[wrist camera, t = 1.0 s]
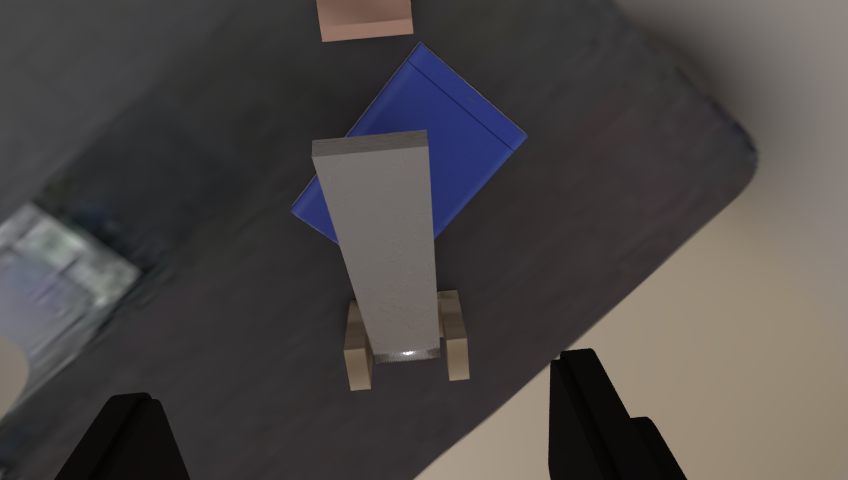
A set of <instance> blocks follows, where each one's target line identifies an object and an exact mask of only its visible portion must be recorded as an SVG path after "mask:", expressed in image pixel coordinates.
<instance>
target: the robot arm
mask: <svg viewBox="0 0 848 480" xmlns="http://www.w3.org/2000/svg"><path fill="white" fill-rule="evenodd" d="M549 408H550V409H549V452H548V453H549V454H548V466H549V474H550V478H551V480H687V478H686V477H685V475H684V474H683V472H682V470H681V468H680V467H679V465H678V463H677V461H676V460H675V458H674V456H673V454H672V453H671V451H670V449H669V448H668V446H667V444H666V443H665V441H664V439H663V438H662V436H661V434H660V432H659V431H658V429H657V427H656V426H655V424H654V423H653V422H652V420H651V419H649V418H648V417H636V418H630V416H629V414H628V413H627V411H626V409H625V407H624V405H623V403H622V401H621V400H620V398H619V396H618V394H617V392H616V391H615V388H614V386H613V385H612V383H611V381H610V379H609V377H608V375H607V373H606V372H605V370H604V368H603V366H602V364H601V362H600V360H599V359H598V357H597V355H596V353H595V352H594V350H593V349H591V348H588V349H579V350H568V351H562V352H561V354H560V359H557V360H552V361H551V365H550V407H549ZM54 480H190V478H189V475H188V473H187V470H186V467H185V465H184V462H183V460H182V457H181V454H180V452H179V449H178V446H177V444H176V441H175V439H174V436H173V433H172V431H171V428H170V425H169V423H168V420H167V418H166V415H165V412H164V410H163V407H162V405H161V403H160V401H159V400H157V399H152V398H151V396H150V395H149V394H148V393H144V392H143V393H133V394H122V395H114V396H112V397H111V398H110V399H109V400H108V401H107V402H106V404H105V405H104V407H103V408H102V410H101V411H100V413H99V414H98V416H97V417H96V418H95V420H94V421H93V423H92V424H91V426H90V427H89V429H88V430H87V432H86V433H85V435H84V436H83V438H82V439H81V441H80V442H79V444H78V445H77V447H76V448H75V450H74V451H73V452H72V454H71V455H70V457H69V458H68V460H67V461H66V463H65V464H64V466H63V467H62V469H61V470H60V472H59V473H58V475H57V476H56V478H55V479H54Z"/></svg>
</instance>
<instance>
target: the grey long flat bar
mask: <svg viewBox="0 0 848 480" xmlns="http://www.w3.org/2000/svg"><path fill="white" fill-rule="evenodd" d="M312 159H313V163H314V166H315V169H316V172H317V175H318V178H319V182H320V185H321V188H322V191H323V194H324V197H325V201H326V204H327V207H328V210H329V213H330V217H331V220H332V223H333V226H334V229H335V232H336V236H337V239H338V242H339V245H340V248H341V252H342V255H343V258H344V261H345V264H346V267H347V271H348V274H349V277H350V280H351V283H352V287H353V290H354V293H355V296H356V299H357V302H358V306H359V309H360V312H361V315H362V318H363V322H364V325H365V328H366V331H367V334H368V337H369V341H370V344H371V347H372V350H373V353H374V359H375V364H384V363H394V362H404V361H414V360H424V359H434V358H441V356H440V342H439V324H438V307H437V289H436V271H435V254H434V236H433V219H432V201H431V183H430V166H429V148H428V139H427V131H426V130H417V131H407V132H396V133H386V134H375V135H365V136H354V137H344V138H333V139H323V140H313V142H312Z"/></svg>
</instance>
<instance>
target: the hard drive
mask: <svg viewBox="0 0 848 480" xmlns="http://www.w3.org/2000/svg"><path fill="white" fill-rule="evenodd" d="M417 130H426V131H427V139H428V148H429V166H430V183H431V201H432V219H433V236H434V239H435V238H436V237H437V236H438V235H439V234H440V233H441V232H442V231H443V229H444V228H445V227H446V226H447V225H448V224H449V223H450V222H451V221H452V220H453V218H454V217H455V216H456V215H457V214H458V213H459V212H460V211H461V210H462V209H463V208H464V206H465V205H466V204H467V203H468V202H469V201H470V200H471V199H472V198H473V197H474V195H475V194H476V193H477V192H478V191H479V190H480V189H481V188H482V187H483V186H484V184H485V183H486V182H487V181H488V180H489V179H490V178H491V177H492V176H493V174H494V173H495V172H496V171H497V170H498V169H499V168H500V167H501V166H502V165H503V163H504V162H505V161H506V160H507V159H508V158H509V157H510V156H511V155H512V154H513V152H514V151H515V150H516V149H517V148H518V147H519V146H520V145H521V144H522V143H523V142H524V140H525V139H526V138H527V137H528V136H527V134H526V133H525V132H524V131H523V130H521V129H520V128H519V127H518V126H517V125H516V124H514V123H513V122H512V121H511V120H510V119H509V118H507V117H506V116H505V115H504V114H503V113H502V112H501V111H499V110H498V109H497V108H496V107H495V106H494V105H493V104H491V103H490V102H489V101H488V100H487V99H486V98H484V97H483V96H482V95H481V94H480V93H479V92H478V91H477V90H475V89H474V88H473V87H472V86H471V85H470V84H468V83H467V82H466V81H465V80H464V79H463V78H462V77H460V76H459V75H458V74H457V73H456V72H455V71H454V70H452V69H451V68H450V67H449V66H448V65H447V64H446V63H444V62H443V61H442V60H441V59H440V58H439V57H438V56H436V55H435V54H434V53H433V52H432V51H431V50H430V49H428V48H427V47H426V46H425V45H424V44H423V43H422V42H419V43H418V44H417V45H416V46H415V48H414V49H413V50H412V52H411V53H410V54H409V55H408V57H407V58H406V59H405V61H404V62H403V63H402V64H401V65H400V67H399V68H398V69H397V71H396V72H395V73H394V74H393V76H392V77H391V78H390V80H389V81H388V82H387V83H386V85H385V86H384V87H383V89H382V90H381V91H380V92H379V94H378V95H377V96H376V98H375V99H374V100H373V101H372V103H371V104H370V105H369V107H368V108H367V109H366V110H365V112H364V113H363V114H362V116H361V117H360V118H359V119H358V121H357V122H356V123H355V125H354V126H353V127H352V128H351V130H350V131H349V132H348V134H347V135H346V136H345V137H354V136H365V135H375V134H386V133H396V132H407V131H417ZM290 211H291V212H292V213H293V214H294V215H296V216H297V217H298V218H300V219H301V220H303V221H304V222H306V223H308V224H309V225H310V226H312V227H313V228H315V229H316V230H318V231H319V232H321V233H322V234H324V235H325V236H327V237H328V238H330V239H331V240H333V241H334V242H335V243H337V244H338V245H339V242H338V239H337V236H336V232H335V229H334V226H333V223H332V220H331V217H330V213H329V210H328V207H327V204H326V201H325V197H324V194H323V191H322V188H321V185H320V182H319V178H318V175H317V174H316V175H315V176H314V178H313V179H312V180H311V181H310V183H309V184H308V185H307V187H306V188H305V189H304V190H303V192H302V193H301V194H300V196H299V197H298V198H297V199H296V201H295V202H294V203H293V205H292V206H291V209H290Z"/></svg>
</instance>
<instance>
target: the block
mask: <svg viewBox="0 0 848 480" xmlns="http://www.w3.org/2000/svg"><path fill="white" fill-rule="evenodd" d="M316 3H317V10H318V16H319V22H320V29H321V35H322V42H328V41H338V40H349V39H360V38H371V37H381V36H392V35H403V34H413V25H412V13H411V2H410V0H316Z"/></svg>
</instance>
